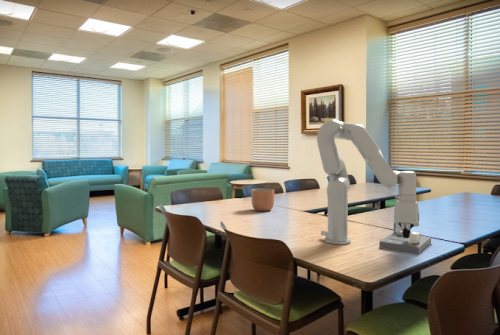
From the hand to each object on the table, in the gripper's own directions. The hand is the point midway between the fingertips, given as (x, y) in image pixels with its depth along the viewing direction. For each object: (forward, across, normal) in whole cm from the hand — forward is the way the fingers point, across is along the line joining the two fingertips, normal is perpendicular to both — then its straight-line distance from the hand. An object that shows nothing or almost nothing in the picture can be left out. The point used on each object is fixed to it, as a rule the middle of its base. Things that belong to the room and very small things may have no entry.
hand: (406, 237), depth 165 cm
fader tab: (+1, +4, 0) cm, 4 cm away
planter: (+4, -112, +38) cm, 118 cm away
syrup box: (+5, -9, +22) cm, 24 cm away
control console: (+5, -1, +4) cm, 6 cm away
